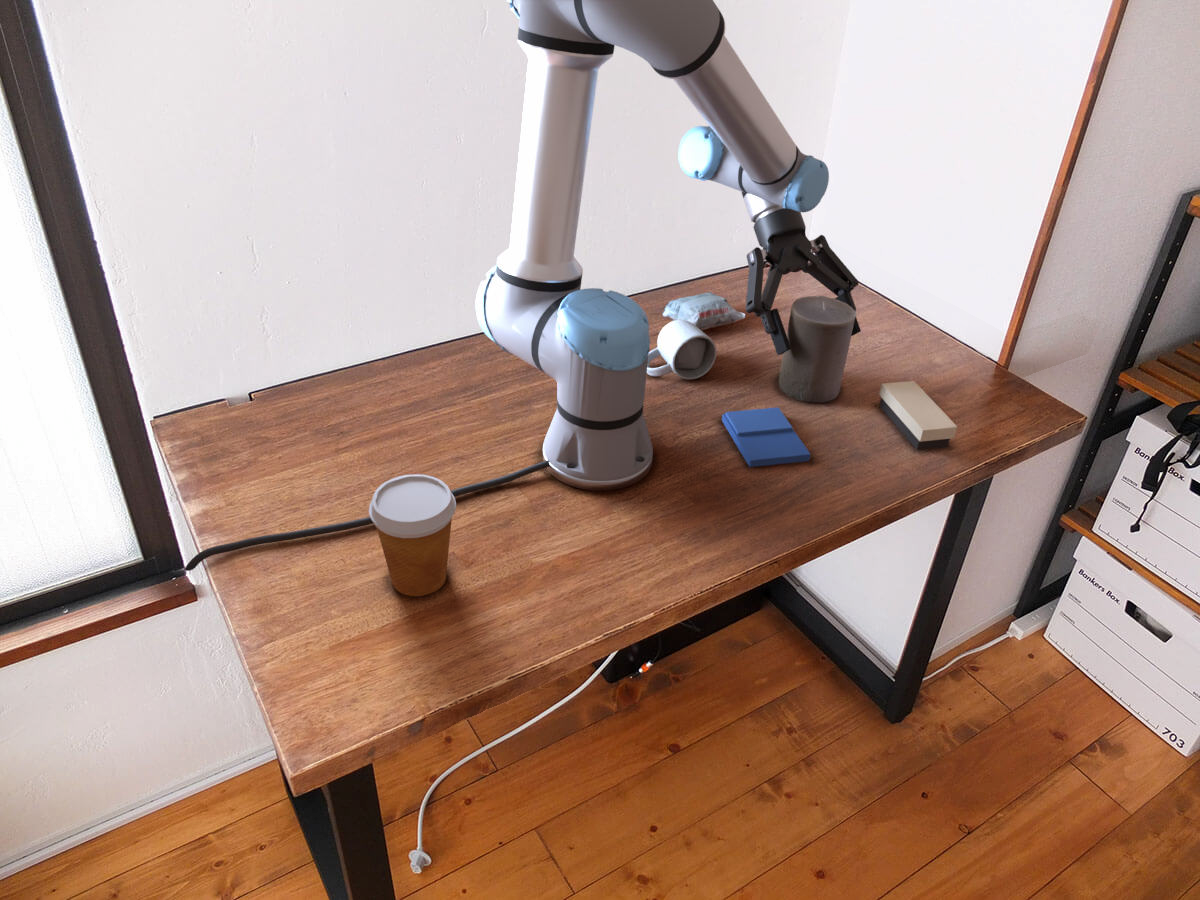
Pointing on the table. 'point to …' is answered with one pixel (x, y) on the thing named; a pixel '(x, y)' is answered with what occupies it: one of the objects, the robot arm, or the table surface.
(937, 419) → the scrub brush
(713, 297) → the packaged food
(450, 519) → the disposable coffee cup
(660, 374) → the ceramic mug
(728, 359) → the table surface
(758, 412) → the blue dish cloth
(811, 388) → the pillar candle
